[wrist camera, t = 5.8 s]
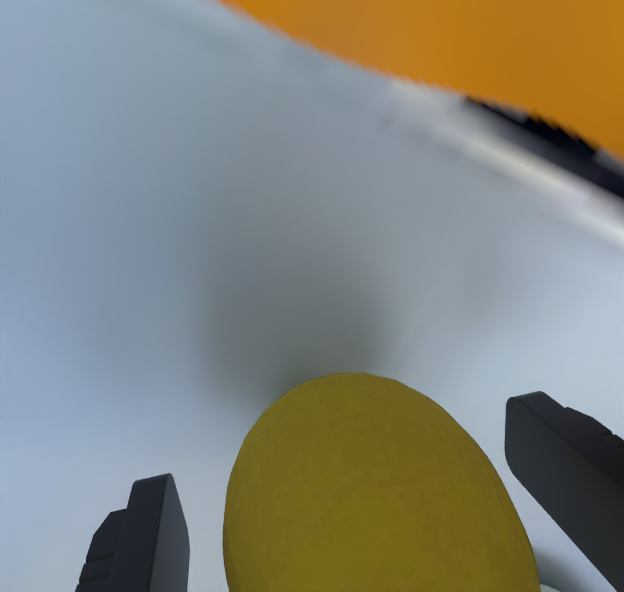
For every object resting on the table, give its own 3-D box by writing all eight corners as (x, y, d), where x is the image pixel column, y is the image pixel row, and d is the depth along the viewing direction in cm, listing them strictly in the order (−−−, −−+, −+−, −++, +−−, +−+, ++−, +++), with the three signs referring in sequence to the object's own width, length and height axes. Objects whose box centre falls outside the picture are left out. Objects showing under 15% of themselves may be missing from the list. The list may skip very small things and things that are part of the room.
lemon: (290, 286, 11) (427, 547, 4) (448, 376, 13) (748, 671, 6) (183, 454, 12) (129, 931, 5) (345, 517, 14) (489, 934, 7)
